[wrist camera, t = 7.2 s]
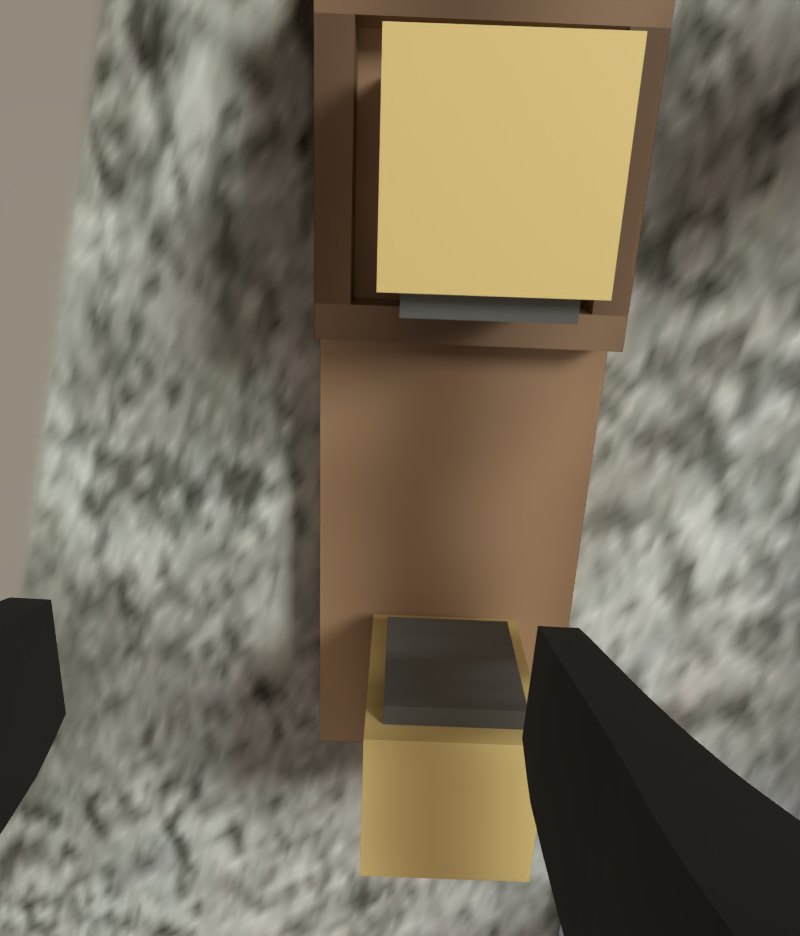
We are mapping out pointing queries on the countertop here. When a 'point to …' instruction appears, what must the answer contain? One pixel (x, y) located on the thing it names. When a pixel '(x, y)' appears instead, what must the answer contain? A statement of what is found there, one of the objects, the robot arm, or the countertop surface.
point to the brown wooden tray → (447, 475)
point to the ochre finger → (503, 167)
